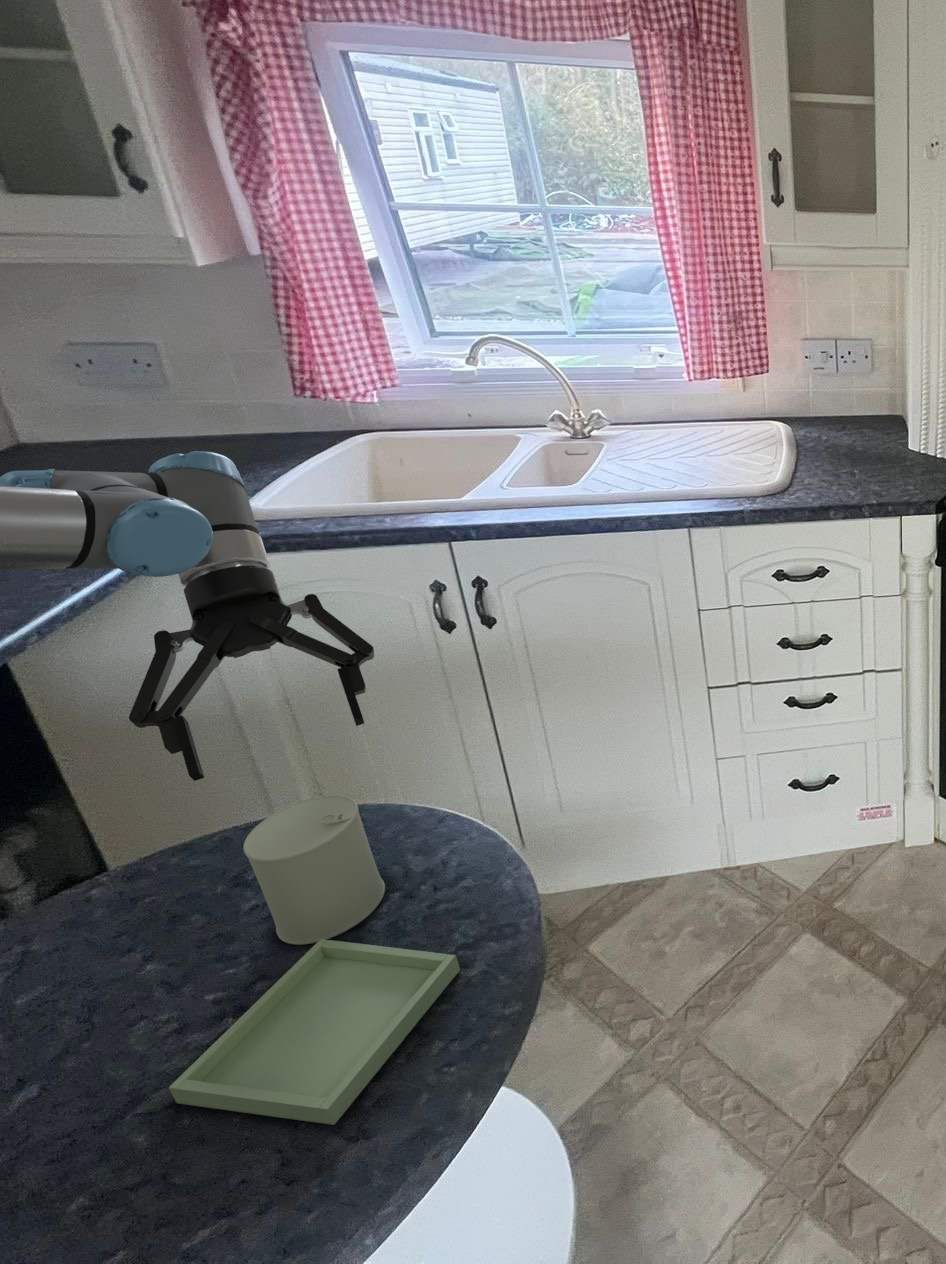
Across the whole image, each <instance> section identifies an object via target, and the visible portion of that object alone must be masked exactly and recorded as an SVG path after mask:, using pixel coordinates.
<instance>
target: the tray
mask: <svg viewBox="0 0 946 1264" xmlns="http://www.w3.org/2000/svg"><path fill="white" fill-rule="evenodd" d="M460 971H461V968H460V964H459V961H458V957H457V955H456V954H451V953H450V954H448V953H440V952H433V951H423V950H414V949H407V948H400V947H392V946H391V947H390V946H382V945H375V944H365V943H357V942H349V941H340V940H331V939H327V940H324V939H321V940H319V941H318V942H317V943H314V945H313V946H312V947H311V948H310V949H309V950H308V951H307V952H306V953H304V955H303V956H302V957H300V959H299V960H298V961H296V962H295V963H294V964H293V965H292V966H291V968H290V969H288V970H287V971H286V972H285V973H284V975H282V976H281V977H280V978H279V979H278V980H277V981H276V982H275V983H274V984H272V985H271V987H270V988H269V989H268V990H267V991H266V992H265V993H264V994H263V995H262V996H261V997H260V998H258V1000H256V1001H255V1002H254V1003H253V1005H252V1006H250V1007H249V1009H247V1010H246V1011H245V1012H244V1013H243V1014H242V1015H241V1016H240V1017H239V1018H238V1019H237V1020H236V1021H235V1022H234V1023H233V1024H232V1025H231V1026H230V1027H228V1029H227V1030H226V1031H225V1032H223V1034H222V1035H221V1036H219V1038H218V1039H217V1040H216V1041H214V1043H213V1044H211V1045H210V1046H209V1047H208V1048H207V1049H206V1050H205V1051H204V1052H203V1053H202V1054H201V1055H200V1056H199V1057H198V1058H197V1059H196V1060H195V1061H194V1062H193V1063H192V1064H191V1065H190V1066H189V1067H188V1068H187V1069H186V1070H185V1071H184V1072H183V1073H182V1074H180V1075H179V1076H178V1078H176V1080H175V1081H173V1082H172V1083H171V1084H170V1085H169V1087H168V1090H169V1092H170V1093H171V1096H172V1098H173V1099H174V1101H175V1103H176V1104H179V1105H186V1106H194V1107H201V1108H208V1109H215V1110H216V1109H217V1110H221V1111H222V1110H223V1111H229V1112H237V1113H243V1114H251V1115H257V1116H258V1115H259V1116H267V1117H274V1118H280V1119H287V1120H294V1121H295V1120H297V1121H303V1122H309V1123H310V1122H311V1123H317V1124H323V1125H324V1124H325V1125H331V1126H334V1125H336V1123H337V1122H338V1121H339V1120H340V1119H341V1118H342V1116H343V1115H344V1114H345V1112H346V1111H347V1110H348V1109H349V1108H350V1107H351V1105H352V1104H353V1103H354V1102H355V1100H356V1099H357V1098H358V1097H359V1096H360V1095H361V1093H362V1092H363V1090H364V1089H365V1088H366V1087H367V1085H368V1084H369V1083H370V1082H371V1080H372V1079H373V1078H374V1077H375V1075H377V1073H378V1072H379V1071H380V1070H381V1068H382V1067H383V1066H384V1064H385V1063H386V1062H387V1061H388V1059H390V1058H391V1056H392V1055H393V1053H394V1052H395V1051H396V1050H397V1049H398V1048H399V1046H400V1045H401V1044H402V1042H403V1041H404V1040H405V1039H406V1037H407V1036H408V1035H409V1034H410V1033H411V1031H412V1030H413V1029H414V1027H415V1026H416V1025H417V1024H418V1022H420V1020H421V1019H422V1017H423V1016H425V1014H426V1013H427V1011H428V1010H429V1009H430V1008H431V1007H432V1005H433V1004H434V1003H435V1002H436V1001H437V999H438V998H439V997H440V996H441V994H443V992H444V990H446V988H447V987H448V986H449V984H450V983H451V982H452V981H453V980H454V978H455V977H456V976H457V974H459V972H460Z"/></svg>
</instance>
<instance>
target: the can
mask: <svg viewBox="0 0 946 1264" xmlns="http://www.w3.org/2000/svg"><path fill="white" fill-rule="evenodd" d="M242 850H243V852H244V855H245V856H246V858H247V860H248V861H249V864H250V866H251V868H252V871H253V873H254V875H255V878H256V880H257V882H258V885H259V887H260V889H261V892H262V895H263V897H264V899H265V901H266V904H267V906H268V910H269V912H270V915H271V917H272V919H273V922H274V925H275V932H276V935H277V937H278V938H279V939H280V940H281V941H282V942H284V943H286V944H289V945H294V946H303V945H311V944H316V943H317V942H318V941H319V940H321V939H324V940H331V939H332V938H335V937H337V936H340V935H342V934H343V933H345V932H347V931H349V930H351V929H353V928H354V927H356V926H357V925H359V924H360V923H361V922H363V921H364V920H365V919H366V918H368V916H370V915H371V914H372V913H373V912H374V911H375V910H376V909H377V907H378V906H379V904H381V901H382V900H383V898H384V896H385V892H386V883H385V882H384V879H382V877H381V875H380V872H379V870H378V867H377V864H376V861H375V858H374V855H373V852H372V849H371V846H370V844H369V840H368V837H367V834H366V831H365V828H364V824H363V821H362V819H361V815H360V811H359V806H358V803H357V802H356V800H355V799H353V798H351V797H349V796H346V795H340V794H329V795H328V794H327V795H320V796H316V797H311V798H307V799H304V800H301V801H298V802H295V803H293V804H290V805H288V806H286V807H284V808H282V809H280V810H277V811H276V812H274V813H273V814H271V815H269V816H268V817H266V818H265V819H263V820H262V821H261V822H260V823H258V824H257V825H256V826H255V827H254V828H253V829H252V830H251V831H250V832H249V834H248V835H247V836H246V838H245V840H244V842H243V848H242Z"/></svg>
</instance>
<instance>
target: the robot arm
mask: <svg viewBox="0 0 946 1264" xmlns="http://www.w3.org/2000/svg"><path fill="white" fill-rule="evenodd" d="M263 542H264V541H263V538H262V536H261V535H260V532H259V529H258V525H257V522H256V519H255V516H254V513H253V510H252V507H251V503H250V499H249V497H248V489H247V486H246V484H245V483H244V480H243V479H242V477H241V474H240V471H239V470H238V469H237V466H236V464H235V463H234V462H233V460H232V459H230V458H229V457H227V456H225V455H223V454H220V453H216V452H212V451H202V450H200V451H199V450H195V451H194V450H193V451H190V452H188V453H174V454H173V453H172V454H170V455H167V456H165V457H162V458H159V459H158V460H156V461H155V462H154V463H152V464H151V465H150V467H149V469H148V472H128V471H127V472H125V471H124V472H122V471H91V470H89V471H87V470H58V469H57V470H56V469H55V468H48V469H43V470H41V469H40V470H12V471H9V472H6V473H5V474H3V475H1V476H0V570H51V569H53V570H55V569H57V570H58V569H59V570H61V569H62V570H63V569H67V570H68V569H73V570H98V569H99V570H106V569H108V570H109V569H110V570H112V569H113V570H114V569H116V570H117V569H118V570H120V571H123V572H124V573H127V574H132V575H136V576H143V577H151V578H152V577H153V578H162V577H163V578H165V577H171V576H174V575H175V576H176V575H178V577H179V578H178V579H179V581H180V584H181V585H182V586H183V587H184V588H183V593H184V594H183V595H184V598H185V601H186V604H187V606H188V611H189V613H190V616H191V620H192V622H191V626H190V628H189V629H185V630H180V631H173V632H169V631H168V630H163V629H162V630H159V631H156V632H155V634H154V635H153V641H154V642H153V643H154V649H155V652H154V654H153V657H152V658H151V659H152V660H151V661H150V665H149V666H148V669H147V671H146V674H145V676H144V679H143V680H142V684H141V687H140V689H139V691H138V693H137V696H136V698H135V700H134V703H133V705H132V708H131V710H130V713H129V715H128V721H130V723H132V724H133V725H134V726H135V727H137V728H140V729H143V728H146V727H158V729H159V732H160V736H161V739H162V740H161V741H162V743H163V746H164V749H165V750H166V751H168V752H169V753H170V754H171V755H174V754H177V753H180V752H181V753H182V757H183V760H184V763H185V767H186V770H187V773H188V777H190V779H192V780H193V782H196V781H200V780H202V779H205V775H204V774H205V773H204V771H203V767H202V765H201V761H200V758H199V755H198V751H197V748H196V744H195V741H194V738H193V734H192V730H191V728H190V724H189V721H188V720H187V719H186V717H185V716H183V713H184V712H185V711H186V709H187V707H188V706H189V705H190V703H191V702H192V700H193V699H194V698H195V697H196V695H197V694H198V692H199V691H200V689H201V688H202V687H203V685H204V684H205V682H206V681H207V680H208V678H209V677H210V675H211V674H212V673H213V671H215V669H216V668H218V667H219V666H220V664H221V663H222V661H223V660H224V659H225V657H227V658H234V659H237V658H240V657H244V656H246V655H248V654H250V653H253V652H263V651H267V650H270V649H271V647H272V646H274V645H276V644H277V643H279V644H281V645H284V646H286V647H289V648H293V649H295V650H298V651H300V652H303V653H305V654H306V655H307V654H308V655H310V656H312V657H315V658H317V659H318V660H322V661H324V662H327V663H329V664H332V665H333V666H336V667H338V668H337V669H336V670H337V673H338V676H339V679H340V682H341V685H342V688H343V691H344V694H345V697H346V700H347V703H348V706H349V709H350V712H351V714H352V717H353V721H354V723H355V726H356V727H359V726H361V725H364V724H365V720H364V717H363V713H362V711H361V707H360V705H359V702H358V699H357V696H359V695H362V694H365V693H366V691H367V686H366V683H365V680H364V677H363V674H362V671H361V666H362V665H363V664H364V663H367V661H371V660H373V659H374V658H375V656H376V655H375V649H374V647H373V645H372V644H370V643H369V642H368V641H367V640H365V639H364V638H363V637H361V636H360V635H359V634H357V633H356V632H355V631H353V629H351V628H350V627H348V626H347V625H346V624H345V623H343V622H342V621H341V620H340V619H338V618H337V617H335V616H334V615H332V614H331V613H330V612H329V611H328V610H326V609H325V608H324V606H323V604H322V602H321V601H320V599H319V597H318V596H317V594H314V593H309V594H307V595H305V596H304V598H303V599H302V600H299V601H296V602H293V603H290V604H286V603H285V601H283V599H282V596H281V593H280V590H279V588H278V583H277V581H276V578H275V576H274V572H273V571H272V570H271V569H270V567H271V563H270V561H269V558H268V555H267V552H266V548H265V545H264V543H263ZM293 615H299V616H301V618H303V619H312V621H314V622H315V624H317V625H318V626H319V627H320V628H322V629H323V630H324V631H326V633H328V634H330V635H331V636H332V637H334V638H335V639H336V640H337V641H339V642H340V643H341V644H343V646H345V647H347V648H348V649H349V650H351V651H352V653H348V652H347V651H344V650H342V649H340V648H337V647H334V646H333V645H330V644H328V643H326V642H323V641H321V640H318V639H316V638H314V637H311V636H309V635H306V634H305V633H303V632H300V631H298V630H296V629H295V628H293V627H291V626H288V624H289V623H290V621H291V619H292V618H293ZM191 641H194V643H196V644H198V645H200V646H201V647H202V648H201V649H200V650H199V652H198V653H197V656H196V659H195V660H194V661H193V663H192V664H191V666H190V667H189V668H188V669H187V671H186V672H185V674H184V675H183V676H182V677H181V679H180V681H179V682H178V683H177V685H175V687H174V688H173V690H172V691H171V692H170V694H169V696H168V697H167V698H166V699H165V701H164V702H163V703H162V705H161V706H160V707H159V709H158V710H157V708H158V706H159V703H160V701H161V698H162V696H163V693H164V691H165V688H166V686H167V683H168V681H169V679H170V675H171V674H172V671H173V668H174V666H175V663H176V660H177V653H180V652H183V650H185V648H186V645H187V643H189V642H191Z"/></svg>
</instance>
